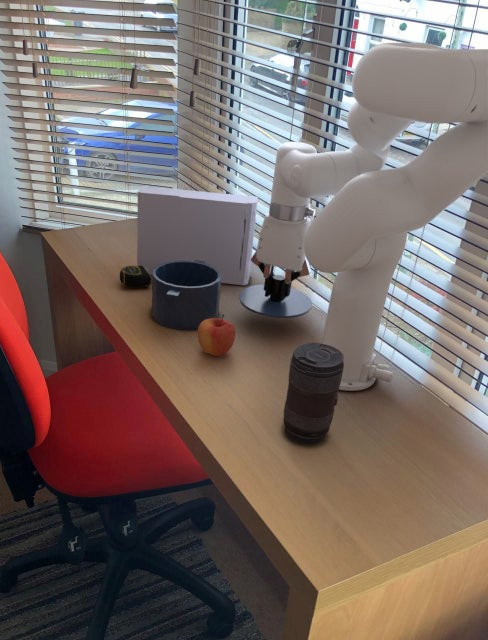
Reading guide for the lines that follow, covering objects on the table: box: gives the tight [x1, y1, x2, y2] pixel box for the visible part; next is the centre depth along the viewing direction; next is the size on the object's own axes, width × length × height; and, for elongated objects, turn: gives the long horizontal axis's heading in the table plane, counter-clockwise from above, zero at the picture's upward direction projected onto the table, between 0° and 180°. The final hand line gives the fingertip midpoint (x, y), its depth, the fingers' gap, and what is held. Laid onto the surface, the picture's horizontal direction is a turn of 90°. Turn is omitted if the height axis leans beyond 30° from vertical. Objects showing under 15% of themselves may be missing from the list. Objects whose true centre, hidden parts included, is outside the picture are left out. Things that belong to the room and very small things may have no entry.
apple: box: [196, 313, 236, 357], centre depth 126 cm, size 7×7×8 cm
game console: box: [136, 185, 259, 286], centre depth 154 cm, size 6×27×20 cm, turn 81°
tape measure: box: [119, 265, 152, 289], centre depth 152 cm, size 7×7×4 cm
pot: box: [151, 260, 222, 331], centre depth 139 cm, size 14×20×10 cm
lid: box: [238, 274, 313, 319], centre depth 137 cm, size 15×15×6 cm
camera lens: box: [283, 342, 344, 446], centre depth 103 cm, size 8×8×15 cm
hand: (276, 295), depth 137 cm, fingers closed on lid, 2 cm apart
